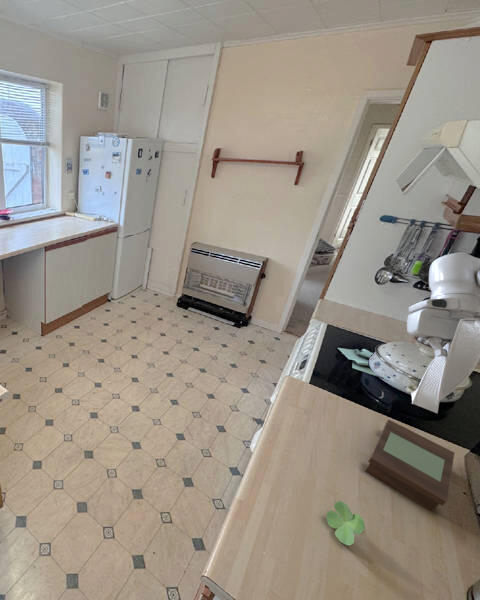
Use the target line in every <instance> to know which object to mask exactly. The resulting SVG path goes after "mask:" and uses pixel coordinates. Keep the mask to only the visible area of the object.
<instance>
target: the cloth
mask: <svg viewBox="0 0 480 600" xmlns="http://www.w3.org/2000/svg"><path fill="white" fill-rule="evenodd" d="M337 349H338V350H339V352H341V354H343V355H344V356H345V357H346V358H347V359H348V360H351V361H352V366H351V368H352V369H353V370H357V371H360V372H362V373H365V374H369V375H371V376H375V377H378V376H377V375H376V374H375V373H374V372H373V371H372V370H371V368H370V367H369V365H368V360H369V358H370V356H371V355H372V354H373V353H374V352H371V351H369V350H368V349H366V348H363V349H361V350H359V349H357V348H355V349H349V348H343V347H342V348H341V347H337ZM378 378H379V377H378Z"/></svg>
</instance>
